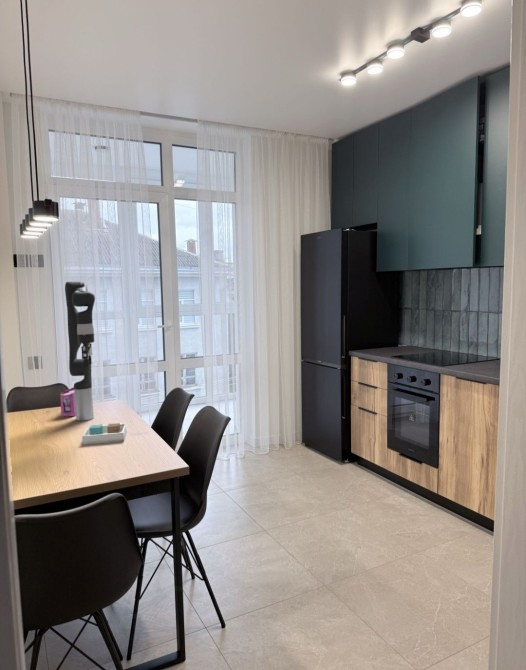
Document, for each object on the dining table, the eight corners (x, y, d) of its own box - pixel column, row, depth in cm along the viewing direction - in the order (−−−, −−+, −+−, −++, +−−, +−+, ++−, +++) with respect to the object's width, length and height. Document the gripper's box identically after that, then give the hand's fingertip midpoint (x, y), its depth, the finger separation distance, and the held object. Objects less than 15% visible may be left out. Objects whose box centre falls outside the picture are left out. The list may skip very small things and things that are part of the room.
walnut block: (109, 434, 226) (108, 423, 225) (120, 433, 226) (119, 423, 226) (107, 437, 221) (107, 426, 220) (118, 436, 221) (118, 425, 221)
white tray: (88, 434, 229) (87, 426, 229) (126, 431, 232) (126, 423, 232) (82, 445, 213) (82, 436, 213) (123, 441, 217) (123, 432, 216)
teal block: (91, 435, 224) (91, 425, 224) (102, 434, 225) (102, 424, 224) (90, 438, 219) (89, 428, 219) (101, 437, 220) (100, 427, 220)
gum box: (73, 417, 264) (72, 393, 263) (59, 417, 264) (58, 393, 263) (90, 407, 288) (89, 385, 287) (78, 407, 288) (76, 385, 287)
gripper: (80, 332, 236) (82, 364, 237) (74, 334, 222) (77, 368, 223) (95, 331, 237) (98, 363, 239) (91, 333, 223) (93, 367, 225)
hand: (87, 365), depth 231 cm, fingers open, 8 cm apart
